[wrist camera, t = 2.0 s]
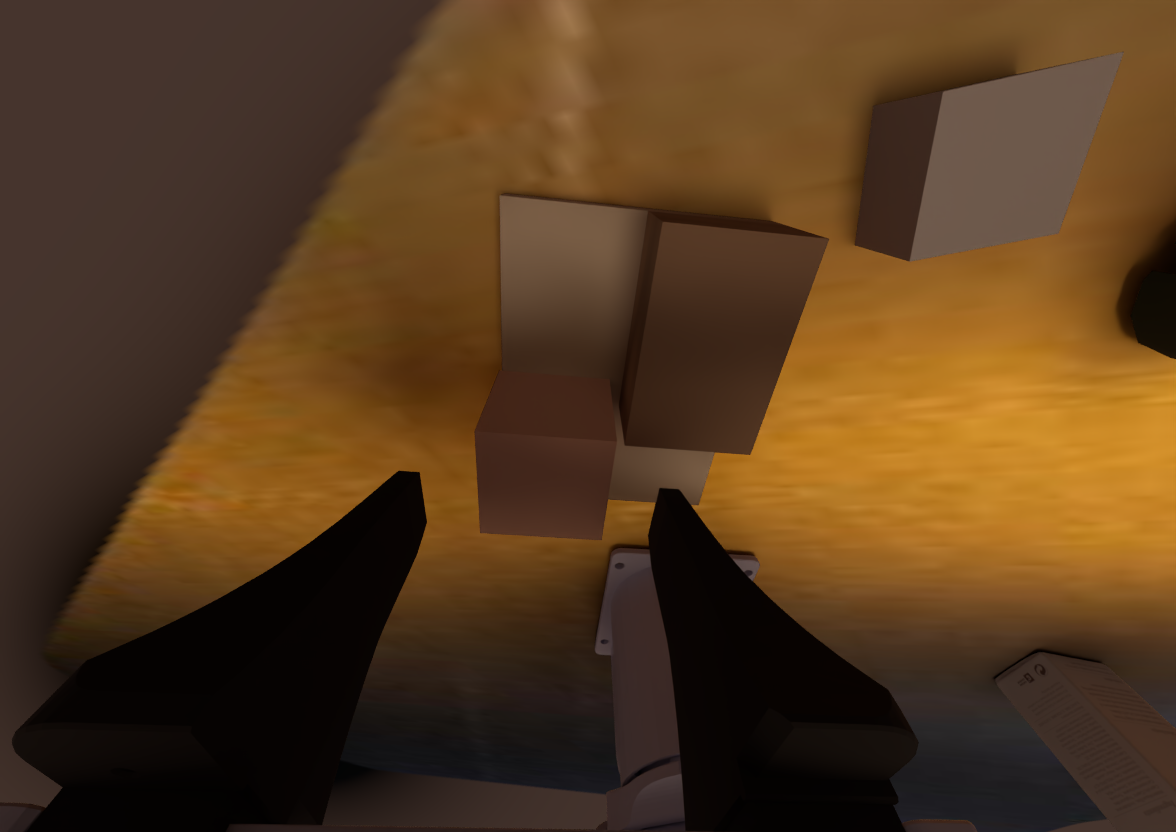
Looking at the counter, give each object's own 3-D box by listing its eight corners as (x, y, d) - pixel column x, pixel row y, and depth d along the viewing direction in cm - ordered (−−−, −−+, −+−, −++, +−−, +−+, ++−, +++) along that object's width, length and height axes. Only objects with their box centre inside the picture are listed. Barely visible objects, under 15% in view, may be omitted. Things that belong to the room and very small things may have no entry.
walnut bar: (726, 413, 17) (750, 454, 15) (618, 404, 17) (624, 445, 14) (784, 225, 13) (828, 238, 11) (648, 210, 13) (662, 221, 11)
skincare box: (988, 679, 30) (1204, 955, 19) (1040, 645, 28) (1315, 935, 17) (1056, 692, 31) (1296, 961, 20) (1111, 659, 29) (1412, 942, 18)
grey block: (973, 221, 14) (1058, 233, 12) (852, 244, 15) (909, 261, 12) (1011, 75, 12) (1124, 51, 10) (870, 106, 13) (943, 91, 10)
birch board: (693, 490, 20) (698, 505, 19) (507, 478, 20) (503, 492, 19) (772, 221, 14) (784, 225, 13) (504, 193, 14) (499, 195, 13)
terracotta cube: (597, 465, 18) (601, 540, 15) (500, 459, 18) (480, 533, 14) (609, 379, 16) (617, 441, 12) (499, 370, 16) (474, 431, 12)
